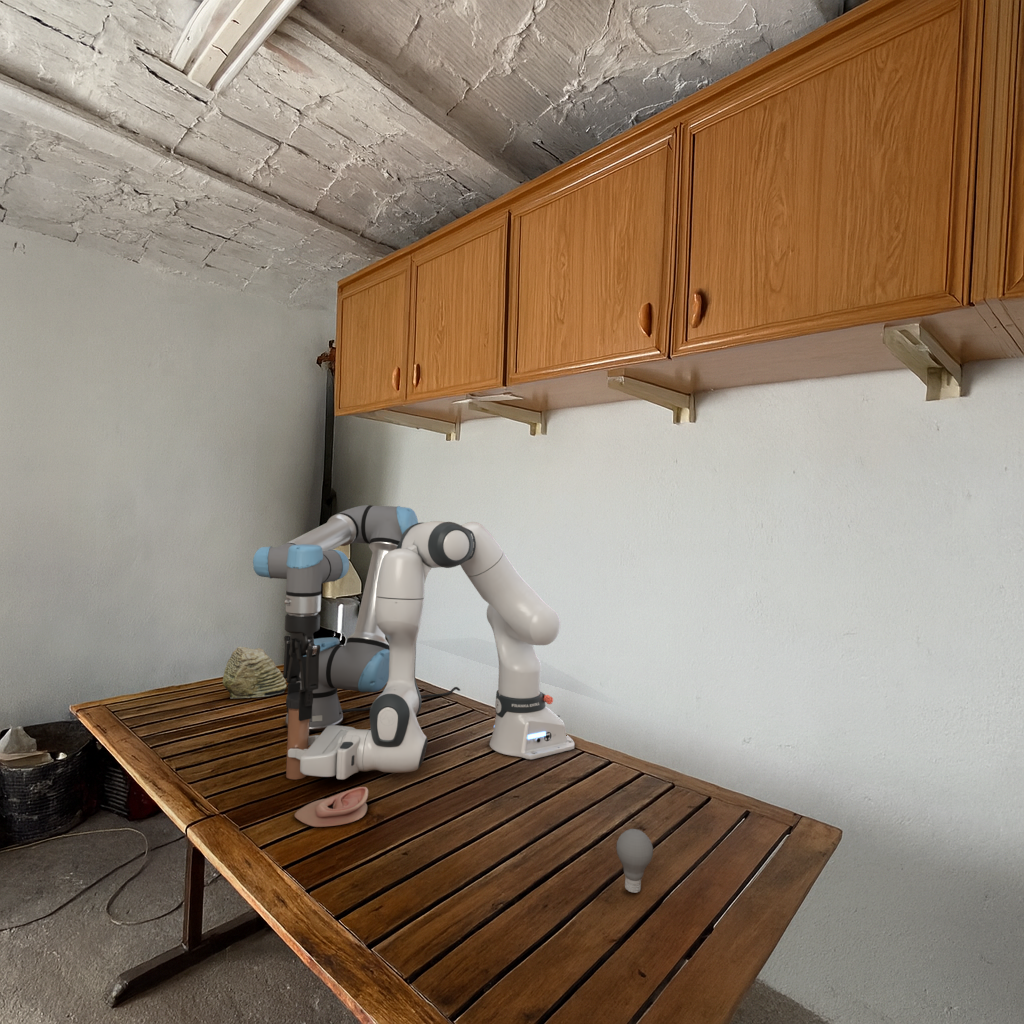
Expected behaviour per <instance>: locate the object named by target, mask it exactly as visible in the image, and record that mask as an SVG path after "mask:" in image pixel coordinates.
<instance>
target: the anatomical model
mask: <svg viewBox="0 0 1024 1024" xmlns="http://www.w3.org/2000/svg"><path fill="white" fill-rule="evenodd" d="M368 797H369V789H368V787H366V786H360V787H355V788H352V789H348V790H346V791H341V792H340V793H337V794H334V795H332V796H330V797H327V798H322V799H318V800H315V801H312V802H309V803H308V804H306V805H304V806H302V807H301V808H299V809H298V810H297V811H296V812H295V813H294V818H295V819H297V820H298V821H300V822H301V823H303V824H305V825H308V826H310V827H314V828H315V827H316V828H323V827H334V826H341V825H346V824H351V823H353V822H356V821H358V820H361V819H362V818H363V817H364V816H365V815H366V814H367V811H368V804H367V800H368Z"/></svg>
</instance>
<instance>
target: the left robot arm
mask: <svg viewBox="0 0 1024 1024" xmlns="http://www.w3.org/2000/svg"><path fill="white" fill-rule="evenodd" d="M326 521H327V522H326V523H323V524H322V525H320V526H318V527H315V528H313V529H311V530H310V531H307V532H305V533H303V534H301V535H299V536H297V537H296V538H293V539H291V540H289V541H287V542H285V543H283V544H281V545H278V546H262V547H259V548H257V550H256V552H255V553H254V555H253V559H252V564H253V571H254V573H255V574H256V575H257V576H258V577H262V578H269V579H278V580H279V579H280V580H286V591H285V600H284V601H283V602H284V604H285V612H286V615H284V630H285V632H287V633H289V634H290V635H288V634H287V635H284V637H283V641H284V652H283V653H284V655H283V656H284V657H283V671H282V675H283V677H284V678H285V680H286V684H287V693H286V696H287V695H289V694H291V693H295V692H300V696H299V721H302V720H307V719H310V724H309V733H316V732H323V731H324V730H325V729H326V727H327V726H331V725H338V726H341V725H342V723H343V722H344V714H343V713H351V712H353V713H354V712H366V711H370V709H371V706H368V707H361V708H358V707H357V708H345V709H342V706H341V702H340V699H339V695H338V690H344V691H345V690H347V691H354V692H359V693H378V692H380V691H381V690H382V689H383V688H385V687H386V685H387V682H388V678H389V653H390V649H389V642H388V640H387V638H386V636H385V634H384V633H383V632H382V631H381V630H380V629H379V627H378V626H377V621H376V613H375V599H376V588H377V580H378V575H379V570H380V566H381V563H382V559H383V557H384V556H385V554H387V553H388V552H390V551H392V550H394V549H396V548H397V546H398V544H399V543H400V539H401V537H402V535H403V533H404V532H405V531H406V529H407V528H409V527H410V526H412V525H414V524H417V523H419V520H418V517H417V514H416V512H415V511H414V510H413V508H411V507H406V506H400V505H398V506H392V505H391V506H390V505H371V504H363V505H358V506H354V507H351V508H347V509H345V510H342V511H340V512H338V513H336V514H334V515H332V516H330V517H329V518H328V520H326ZM351 544H367V545H368V548H369V549H370V551H371V553H372V554H371V558H370V561H369V562H370V563H369V567H368V571H367V574H366V581H365V585H364V587H363V588H364V589H363V593H362V596H361V597H362V598H361V602H360V606H359V611H358V614H357V619H356V623H355V624H356V625H355V628H354V632H353V633H352V634H350V635H349V636H348V637H347V638H346V642H345V645H344V644H343V645H342V644H340V643H341V641H340V639H339V638H338V637H334V636H333V637H318V638H314V633H316V632H319V630H320V628H321V615H320V612H321V609H322V607H321V606H322V584H325V583H331V582H332V583H333V582H336V581H338V580H340V579H342V578H344V577H345V576H346V575H347V574H348V572H349V570H350V561H349V558H348V556H347V555H346V554H345V553H344V552H343V551H341V550H339V549H337V548H339V547H346V546H349V545H351ZM456 690H457V691H458V692H460V691H461V688H460V687H458V686H454V687H453V688H452V689H450V690H449V691H446V692H441V693H431V694H430V693H429V694H420V695H421V699H423V698H434V697H435V698H436V697H445V696H449V695H450V694H452V693H453V692H454V691H456ZM312 696H313V704H312ZM285 726H286V728H288V707H287V706H286V715H285Z"/></svg>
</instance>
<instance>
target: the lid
mask: <svg viewBox="0 0 1024 1024" xmlns="http://www.w3.org/2000/svg"><path fill="white" fill-rule="evenodd" d="M299 696H300V692H295V693H291V694H289V695H287V694H286V698H285V707H286V708H287V707H288V708H292V709H299ZM312 704H313V696H312Z"/></svg>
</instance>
